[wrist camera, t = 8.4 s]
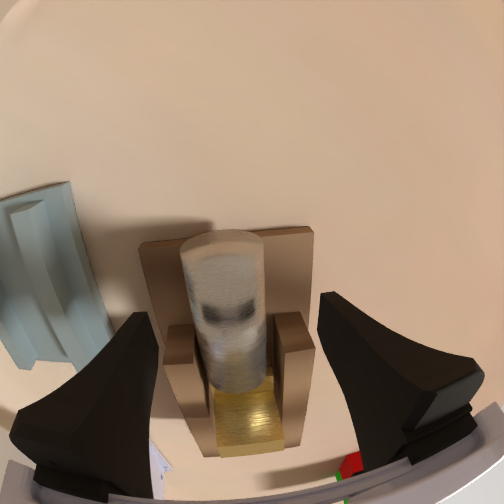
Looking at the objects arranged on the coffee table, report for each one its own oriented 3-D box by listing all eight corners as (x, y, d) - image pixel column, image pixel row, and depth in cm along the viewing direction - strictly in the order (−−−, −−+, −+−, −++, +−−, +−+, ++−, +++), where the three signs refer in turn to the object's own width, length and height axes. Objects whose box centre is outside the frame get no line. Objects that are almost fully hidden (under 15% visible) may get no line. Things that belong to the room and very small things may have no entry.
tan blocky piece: (267, 376, 19) (284, 450, 14) (215, 382, 19) (221, 457, 13) (266, 347, 18) (285, 427, 12) (209, 353, 17) (212, 436, 12)
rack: (124, 353, 18) (116, 381, 16) (23, 350, 17) (11, 371, 15) (69, 181, 13) (45, 194, 10) (-35, 212, 12) (-57, 226, 9)
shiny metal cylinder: (266, 347, 18) (268, 392, 14) (209, 349, 18) (203, 393, 14) (261, 227, 14) (265, 263, 11) (188, 231, 14) (171, 267, 11)
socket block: (294, 423, 24) (303, 457, 21) (202, 434, 23) (203, 469, 20) (309, 226, 15) (337, 260, 12) (141, 243, 15) (122, 282, 11)
